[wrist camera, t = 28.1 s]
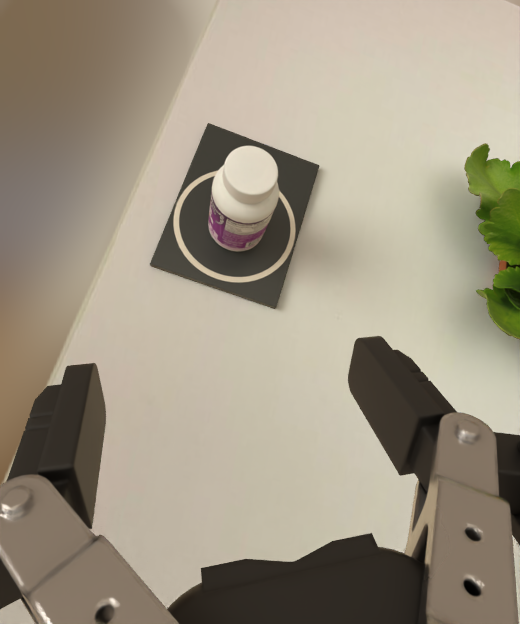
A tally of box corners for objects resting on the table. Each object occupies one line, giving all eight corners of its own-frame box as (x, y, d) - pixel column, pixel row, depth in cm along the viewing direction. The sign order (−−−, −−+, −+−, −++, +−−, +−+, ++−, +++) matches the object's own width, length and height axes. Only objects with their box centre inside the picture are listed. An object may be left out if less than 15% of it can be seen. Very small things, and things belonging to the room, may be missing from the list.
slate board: (275, 308, 38) (276, 306, 37) (150, 266, 37) (149, 263, 36) (317, 168, 43) (319, 164, 42) (207, 126, 42) (208, 121, 41)
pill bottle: (206, 200, 39) (213, 133, 30) (262, 202, 40) (285, 138, 30) (208, 253, 37) (215, 201, 28) (265, 254, 38) (290, 204, 29)
